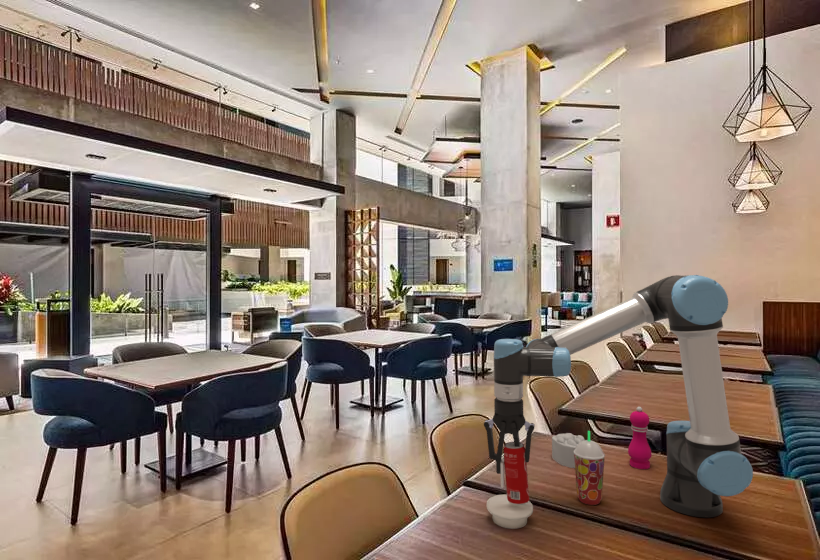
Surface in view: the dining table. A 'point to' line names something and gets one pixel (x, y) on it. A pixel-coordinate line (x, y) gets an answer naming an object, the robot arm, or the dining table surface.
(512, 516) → the stand
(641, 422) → the pepper mill
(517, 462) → the beverage can
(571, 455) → the lumpy-topped squat cylinder
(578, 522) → the dining table surface
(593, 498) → the smoothie
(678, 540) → the dining table surface
